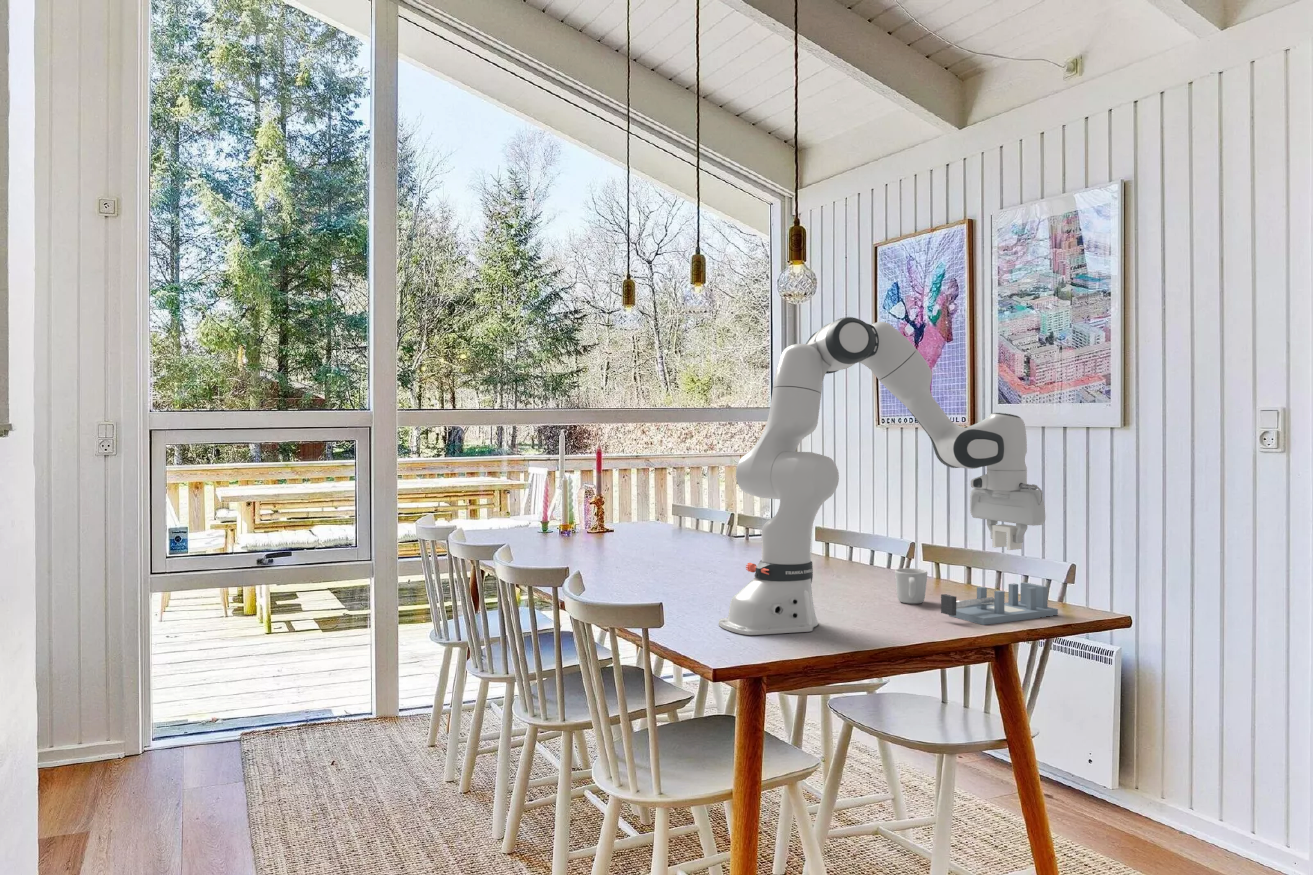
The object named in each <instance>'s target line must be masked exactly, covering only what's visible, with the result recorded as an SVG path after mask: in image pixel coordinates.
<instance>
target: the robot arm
mask: <svg viewBox="0 0 1313 875" xmlns="http://www.w3.org/2000/svg"><path fill="white" fill-rule="evenodd" d="M857 363H859V364H861V365H864V366H865V367H867V369H869V370H870V371H871V372H872V373H873V375H874V376H875V377H876V378H877V379H878V381H879V382H880V383H881V384H882V386H884V387H885V388H886V389H887V391H888V392H890V394H892V395H893V396H894V397H895V398H896V399H897V400H898V401H899V402H901V404H903V405H904V407H906V408H907V410H908V411H909V412H910V414H911V415H912V416H913V418H914V419H915V420H916V421H917V423H918V424H919V425H920V426H921V428H922V429H923V430H924V432H925V433H926V434H927V436H928V437H929V440H930V442H931V443H932V447H933V452H934V454H935V455H936V458H937V460H938V461H939V462H940V463H941V464H942V465H944V466H946V467H948V468H950V469H960V468H961V469H970V470H973V469H979V468H981V467H983V468H984V467H986V473H985V474H982V475H980V476H977V477H974V478H972V479H971V480H970V486H971V488H972V490H971V491H970V494H969V495H970V496H969V512H970V514H971V516H972V518H974V519H980V520H986V526H987V528H988V530H989V532H990V539H991V540H992V525H999V523H998V522H1003V523H1004V522H1005V523H1011V524H1015V526H1016V528H1018V530H1017V533H1016V535H1013V542H1014V543H1022V544H1023V543H1024V535H1025V533H1026V532H1027V530H1028V526H1032V527H1033V526H1035V527H1037V526H1043V525H1044V524H1045V521H1046V509H1045V508H1046V507H1045V501H1044V498H1043V497H1044V496H1043V491H1042V489H1041V488H1040V487H1039V486H1038V485H1037V484H1029V483H1028V482H1027V481H1028V480H1027V479H1028V478H1027V477H1028V470H1027V469H1028V467H1027V464H1026V456H1027V453H1028V452H1027V451H1028V447H1027V446H1028V444H1027V441H1028V440H1027V429H1026V425H1025V424H1026V423H1025V422H1024V419H1023V418H1021V417H1020V416H1018V415H1015V414H1011V413H1003V412H992V413H990V415H988V416H987V417H986V418H984V419H983V420H980V421H979V422H976V423H974V424H972V425H969V426H968V427H963V426H960V425H958V424H957V423H955V422H954V421H952V420H951V419H950V418H949V416H948V415H947V414H946V413H945V411H944V410H943V409H942V407H941V406H940V404H939V403H938V402H937V401H936V399H934V396H933V395H932V392H931V384H932V380H933V379H932V378H933V374H932V372H933V371H932V369H931V368H930V366H929V364H928V362H927V361H926V359H925V358H924V357H923V355H922V354H921V353H920V352H919V350H918V349H917V348H916V347H915V345H914V344H913V343H912V342H911V341H910V340H909V339H908V338H907V337H905V335H903V334H902V332H901V331H899V330H898V329H897V328H896V327H895V326H893V325H891V324H890V323H889V322H886V321H877V322H874V323H872V324H871V323H867V322H865V321H864V320H862V319H859V318H856V317H852V316H848V317H846V316H845V317H842V318H838V319H835V320H834V321H832V322H830V323H826V324H825V325H824V326H822V327H821V328H820V329H818V330H817V331H815V332H814V333H813V334H812V335H810V337H809V339H808V340H807V341H806V343H793V344H791V345H789V346H787V347H785V348H784V349H783V350H782V353H781V355H780V357H779V360H778V364H777V368H776V371H775V374H774V375H775V376H774V380H773V384H772V386H773V387H772V393H771V400H770V406H769V411H768V417H767V421H766V424H765V427H764V429H763V431H762V433H761V435H760V437H759V439H758V440H757V442H756V444H755V445H753V447H752V448H751V449H750V450H749V451H748V452H747V453H745V454H744V455H743V456H742V457H741V458H740V459H739V461H738V463H737V465H736V470H735V479H736V483H737V486H738V487H739V489H740V490H741V491H742V492H743V493H745V494H748V495H751V496H754V497H757V498H760V499H771V500H779V506H778V509H777V512H776V514H775V515H774V516H772V517H771V518H770V519H768V520H767V521H766V522H765V523H764V524H763V525H762V528H761V540H760V541H761V549H760V550H761V555H760V556H761V560H760V561H759V563H758V564H755V563H752V562H748V563H747V564H746V565H745V570H746V571H747V572H750V573H755V574H754V578H753V579H752V580H751V581H750V582H748V583H747V584H746V585H745V586H744V587H743V588H741V589H740V590H739V591H738V592H737V593H736V594H735V595H733V596H732V598H731V599H730V603H729V608H728V615H727V616H728V617H724V618H720V619H718V626H719V627H721V628H722V629H724V630H727V631H730V632H732V633H736V634H740V635H746V636H758V635H775V634H777V635H778V634H788V633H789V634H791V633H805V632H812V631H813V630H814V628H815V627H817V626H819V622H818V619H817V616H816V611H815V605H814V598H813V590H812V582H813V579H814V575H813V574H814V569H813V561H812V559H811V558H812V556H811V555H812V554H811V553H812V552H811V551H812V548H811V547H812V531H813V525H814V522H815V520H816V516H817V513H818V512H819V510H820V508H821V506H822V505H823V504H824V503H825V502H826V501H827V500H828V499H830V498H831V497H832V496H833V495H834V494H835V492H836V490H837V488H838V486H839V480H840V475H839V474H840V473H839V469H838V466H837V464H836V463H835V461H834V460H833V459H832V458H831V457H829V456H827V455H823V454H820V453H816V452H811V451H797V449H798V447H799V445H800V443H801V442H802V441H803V440H804V439H805V438H806V437H808V436H809V435H811V434H812V433H813V432H814V431H815V430H816V428H817V426H818V423H819V422H818V421H819V414H820V409H821V408H820V407H821V399H822V392H823V381H824V379H825V376H826V375H827V374H828V375H829V374H832V373H833V374H834V373H837V372H839V371H842V370H843V371H844V370H846V369H849V368H850V367H852V366H854V365H855V364H857Z"/></svg>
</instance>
